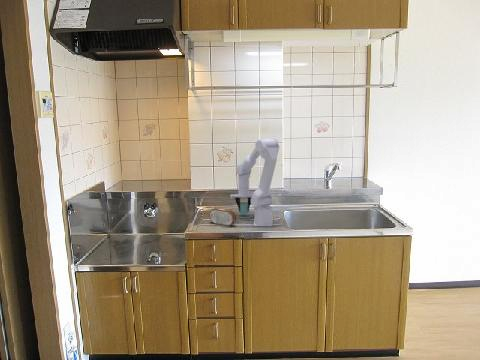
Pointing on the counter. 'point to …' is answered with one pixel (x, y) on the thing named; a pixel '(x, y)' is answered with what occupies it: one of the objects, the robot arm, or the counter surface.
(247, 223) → the counter surface
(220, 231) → the counter surface
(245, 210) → the block
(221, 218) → the tin
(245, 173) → the robot arm
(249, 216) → the pad
